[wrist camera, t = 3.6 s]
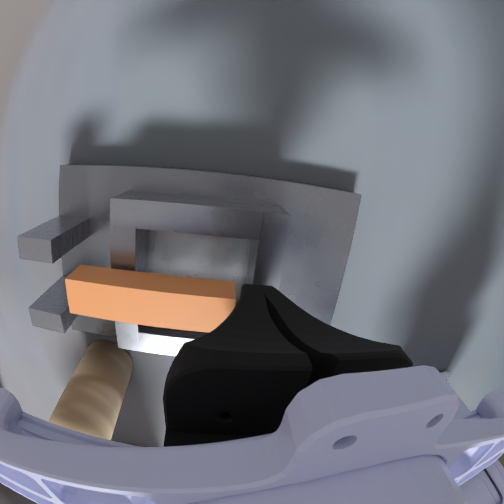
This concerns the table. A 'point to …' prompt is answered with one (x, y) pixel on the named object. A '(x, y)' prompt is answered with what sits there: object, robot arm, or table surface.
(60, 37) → the table surface
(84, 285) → the pin
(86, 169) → the dock
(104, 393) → the peg
